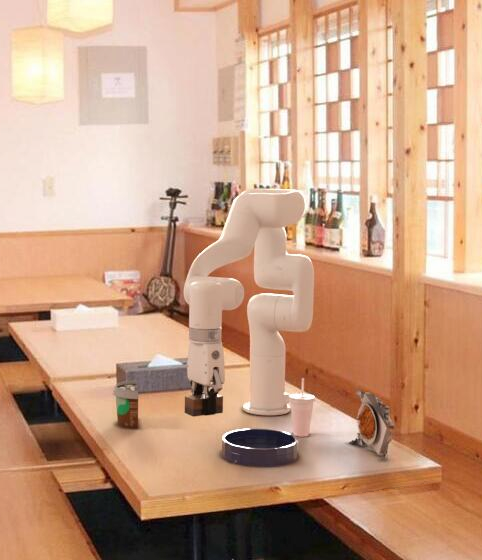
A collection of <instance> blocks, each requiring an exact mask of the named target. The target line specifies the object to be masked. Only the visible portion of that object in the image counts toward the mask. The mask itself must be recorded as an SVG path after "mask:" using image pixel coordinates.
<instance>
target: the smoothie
mask: <svg viewBox="0 0 482 560" xmlns="http://www.w3.org/2000/svg"><path fill="white" fill-rule="evenodd" d="M289 401H290V402H289V404H290V412H291V423H292V432H293V435H294V436H295V437H299V438H300V437H301V438H303V437H309V434H310V428H311V421H312V416H313V415H312V414H313V408H314V403H315V402H316V397H315V395H313V394H310V393H305V378H303V377H302V378H301V393H292V395H291V394H290V396H289Z"/></svg>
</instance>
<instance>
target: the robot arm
mask: <svg viewBox="0 0 482 560" xmlns="http://www.w3.org/2000/svg"><path fill="white" fill-rule="evenodd" d="M306 209H307V202H306V199H305V196H304V194H303V193H302V192H301V191H300V190H297V189H291V188H290V189H284V188H249V189H245V190H244V191H242V192H241V194H238V195H237V196H236V197H235V198H234V199H233V202H232V204H231V206H230V210H229V212H228V215H227V218H226V220H225V223H224V226H223V229H222V232H221V233H220V237H219V239H218V240H216V241H214V242H213V243H212V244H210V245H209V246H208V247H206V248H205V249H204V250H203V251H202V252H201V253H199V254H198V255H197V256H196V257H195V259H194V260H193V262H192V263H191V265H190V267H189V270H188V273H187V276H186V279H185V281H184V285H183V299H184V301H185V302H186V304H187V305H188V307H189V309H188V310H189V312H188V313H189V314H188V315H189V316H188V348H187V358H186V359H187V361H186V375H187V380H188V382H189V385H190V388H191V391H190V392H191V394H192V395H199V394H205V398H203V415H202V416H204V417H205V416H206V417H207V416H214V415H216V398H217V394H219V393H220V392H221V391H222V390H223V385H224V384H225V379H226V374H225V373H226V368H225V366H226V365H225V355H224V346H223V342H222V336H223V335H222V334H223V333H222V330H223V329H222V328H223V327H222V325H223V311H233V310H235V309H237V308H239V307H240V306H241V305H242V303H243V301H244V299H245V288H244V285H243V284H242V282H240V281H239V280H237V279H235V278H231V277H219V276H209V275H210V274H211V273H213V272H214V271H216V270H217V269H219V268H222V267H224V266H227V265H229V264H233V263H235V262H238V261H240V260H243V259H246V258H248V257H249V256H250V255H251V254H252V252H253V251H254V252H253V279H254V282H255V284H256V285H257V286H258V287H259V288H263V289H269V290H279V291H291V292H292V294H293V295H290V294H289V295H288V294H279V293H259V294H255V295H253V296H251V298H250V299H249V300H248V302H247V307H246V315H247V322H248V327H249V379H248V380H249V381H248V382H249V384H248V385H249V386H248V387H249V388H248V402H245V403H244V404H242V405H243V406H242V409H243V411H244V412H245V413H247V414H251V415H256V416H257V415H258V416H281V415H285V414H288V413H289V412H291V405H289V404H290V401H289V396H290V395H292V394H293V393H292V394H290V393H288V392H285V391H286V389H285V388H286V351H287V350H286V344H285V341H284V339H283V337H282V335H281V334H280V332H291V333H305V332H307V331H309V329H310V328H311V326H312V323H313V319H314V318H313V317H314V296H315V269H314V265H313V262H312V260H311V259H310V258H309V256H307V255H304V254H294V253H293V254H292V253H288V251H287V242H288V241H287V240H288V237H287V232H286V230H285V228H288V227H291V226H293V225H295V224H297V223H299V222H300V221H301V220H302V219H303V217H304V215H305V212H306Z"/></svg>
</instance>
